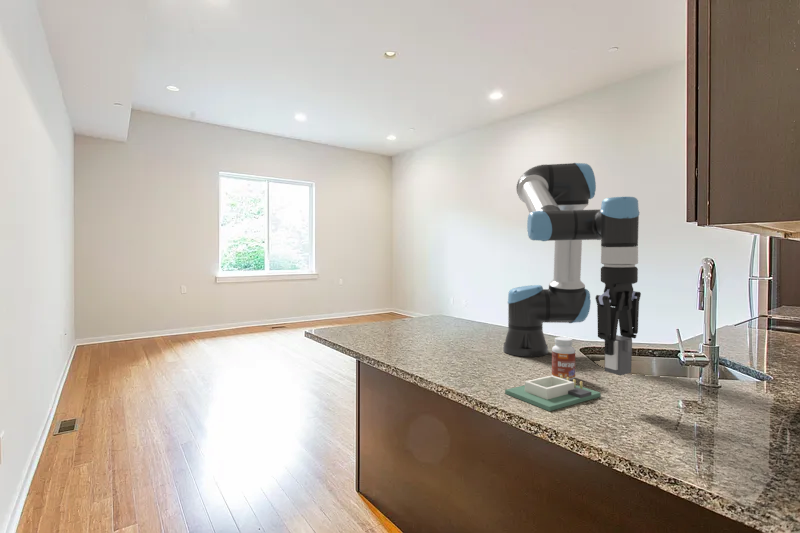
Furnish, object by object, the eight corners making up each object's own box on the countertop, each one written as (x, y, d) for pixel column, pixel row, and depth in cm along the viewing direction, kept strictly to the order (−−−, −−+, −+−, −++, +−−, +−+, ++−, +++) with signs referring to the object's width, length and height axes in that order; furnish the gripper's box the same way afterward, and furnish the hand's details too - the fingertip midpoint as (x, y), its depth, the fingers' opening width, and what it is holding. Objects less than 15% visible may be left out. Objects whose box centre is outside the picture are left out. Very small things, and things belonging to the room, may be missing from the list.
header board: (554, 381, 117) (554, 369, 117) (600, 396, 105) (600, 382, 105) (505, 393, 108) (505, 379, 108) (549, 411, 96) (549, 395, 96)
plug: (615, 368, 101) (615, 334, 101) (634, 373, 97) (635, 338, 97) (604, 371, 100) (604, 337, 99) (624, 376, 95) (624, 341, 95)
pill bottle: (557, 381, 118) (556, 341, 117) (548, 374, 124) (548, 336, 123) (579, 380, 118) (579, 340, 117) (569, 374, 124) (569, 336, 124)
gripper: (626, 263, 105) (624, 357, 106) (579, 266, 96) (579, 368, 98) (657, 264, 98) (655, 364, 100) (610, 268, 90) (609, 377, 91)
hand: (617, 366), depth 99 cm, fingers closed on plug, 4 cm apart
